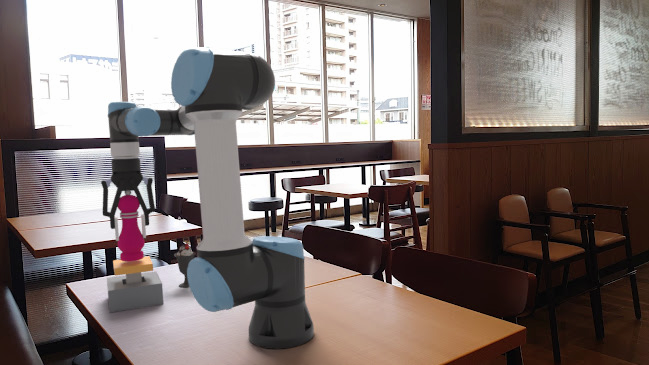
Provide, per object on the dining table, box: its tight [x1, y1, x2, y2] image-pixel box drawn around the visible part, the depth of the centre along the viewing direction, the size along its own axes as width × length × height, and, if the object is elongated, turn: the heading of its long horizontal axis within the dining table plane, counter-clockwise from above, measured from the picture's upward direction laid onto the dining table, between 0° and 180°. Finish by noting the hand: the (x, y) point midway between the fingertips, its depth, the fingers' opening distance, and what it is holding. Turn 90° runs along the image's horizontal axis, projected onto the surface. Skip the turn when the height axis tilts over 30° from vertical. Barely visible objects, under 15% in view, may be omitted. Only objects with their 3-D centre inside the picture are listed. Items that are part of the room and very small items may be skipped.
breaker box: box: [106, 271, 164, 313], centre depth 146 cm, size 14×14×6 cm
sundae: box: [173, 238, 197, 288], centre depth 159 cm, size 7×7×15 cm
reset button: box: [112, 255, 154, 284], centre depth 145 cm, size 10×10×7 cm
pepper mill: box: [117, 190, 145, 261], centre depth 144 cm, size 7×7×20 cm
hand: (130, 238), depth 144 cm, fingers closed on pepper mill, 6 cm apart
